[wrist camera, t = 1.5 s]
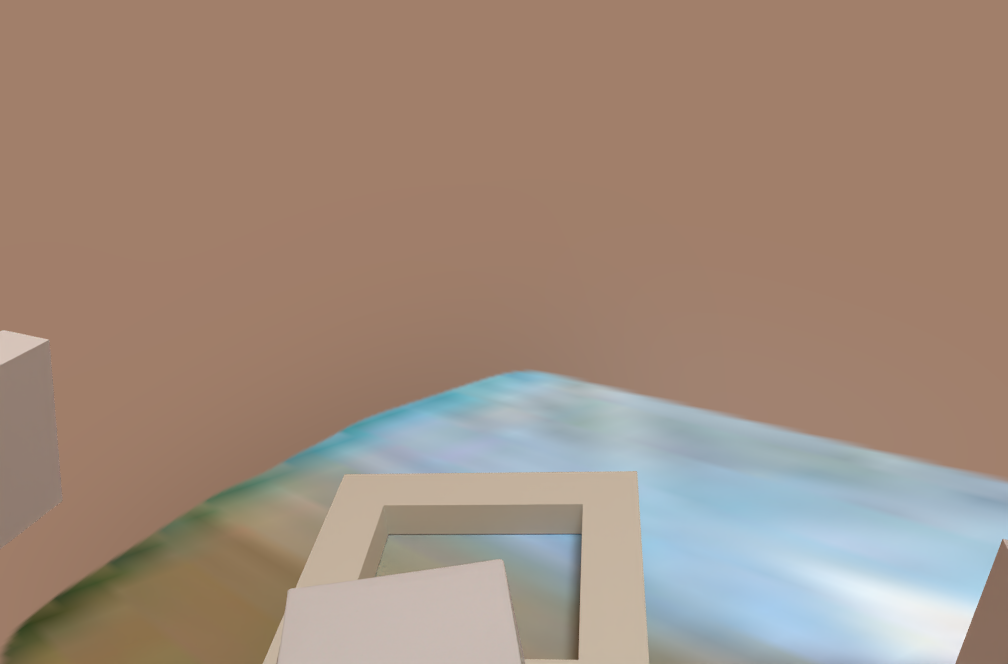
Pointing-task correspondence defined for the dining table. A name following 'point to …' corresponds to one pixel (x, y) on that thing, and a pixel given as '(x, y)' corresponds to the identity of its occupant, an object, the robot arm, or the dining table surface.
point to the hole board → (502, 510)
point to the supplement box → (405, 619)
